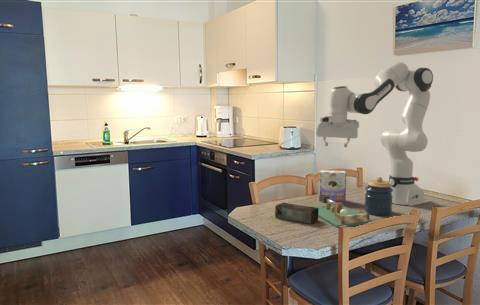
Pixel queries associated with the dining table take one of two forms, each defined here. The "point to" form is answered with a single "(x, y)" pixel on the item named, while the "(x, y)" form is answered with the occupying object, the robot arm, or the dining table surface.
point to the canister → (378, 197)
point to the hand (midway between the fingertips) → (336, 146)
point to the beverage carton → (297, 212)
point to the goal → (352, 218)
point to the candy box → (333, 185)
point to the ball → (344, 212)
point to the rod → (331, 202)
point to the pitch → (329, 215)
